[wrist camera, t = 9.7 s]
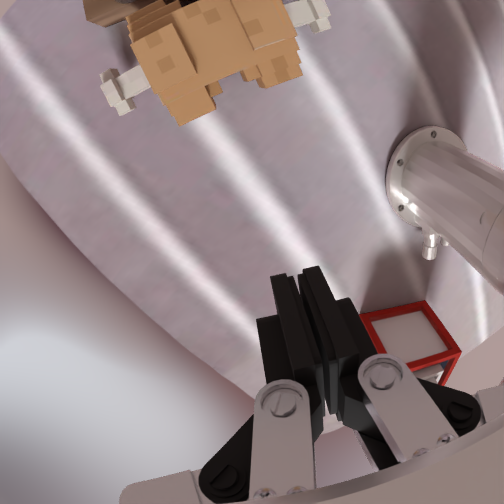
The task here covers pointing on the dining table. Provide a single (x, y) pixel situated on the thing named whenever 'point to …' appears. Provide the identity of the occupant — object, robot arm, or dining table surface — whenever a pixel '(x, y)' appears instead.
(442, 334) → the pendant light
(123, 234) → the dining table surface
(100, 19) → the rail
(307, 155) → the dining table surface
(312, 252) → the dining table surface
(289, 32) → the voxel meat on bone
